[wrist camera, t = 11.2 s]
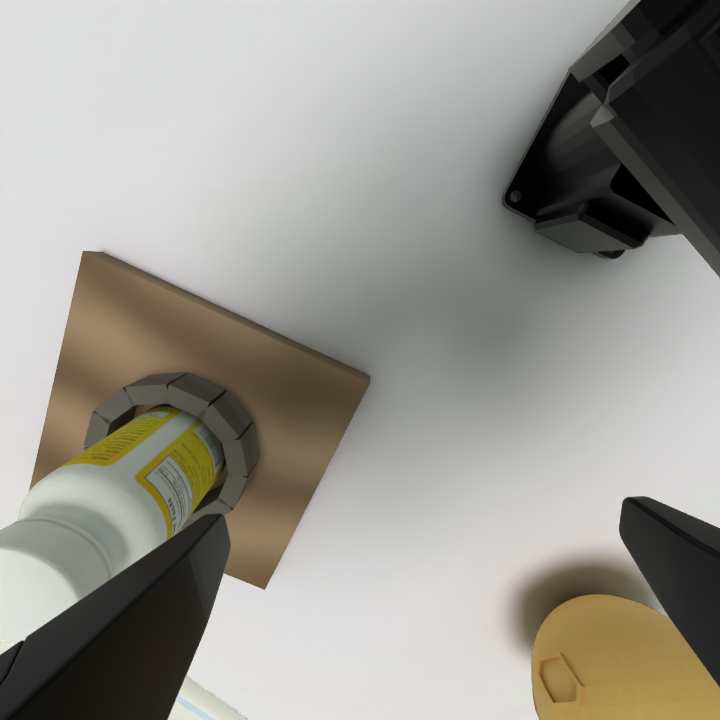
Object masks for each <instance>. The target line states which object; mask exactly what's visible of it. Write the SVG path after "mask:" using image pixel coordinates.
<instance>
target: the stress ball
mask: <svg viewBox="0 0 720 720" xmlns="http://www.w3.org/2000/svg"><path fill="white" fill-rule="evenodd" d="M531 677H532V689H533V699H534V705H535V710H536V713H537V715H538V717H539V720H720V688H719V686H718V685H717V684H716V682H715V681H714V679H713V678H712V677H711V675H710V674H709V672H708V671H707V670H706V668H705V667H704V665H703V664H702V663H701V661H700V660H699V659H698V657H697V656H696V654H695V653H694V652H693V650H692V649H691V647H690V646H689V645H688V643H687V642H686V640H685V639H684V638H683V636H682V635H681V634H680V632H679V631H678V629H677V628H676V626H675V625H674V624H673V622H672V621H671V619H670V618H668V617H666V616H664V615H663V614H661V613H659V612H657V611H656V610H654V609H652V608H650V607H647V606H645V605H643V604H641V603H638V602H636V601H632V600H629V599H626V598H622V597H618V596H612V595H602V594H592V595H584V596H579V597H575V598H573V599H570V600H568V601H566V602H564V603H562V604H561V605H559V606H557V607H556V608H555V609H554V610H553V611H552V612H551V613H549V615H548V616H547V618H546V619H545V620H544V622H543V623H542V625H541V627H540V629H539V631H538V633H537V636H536V639H535V642H534V646H533V651H532V660H531Z"/></svg>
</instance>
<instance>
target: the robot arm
mask: <svg viewBox="0 0 720 720" xmlns="http://www.w3.org/2000/svg"><path fill="white" fill-rule="evenodd" d="M568 70H569V72H568V73H567V75H566V77H565V79H564V81H563V83H562V85H561V86H560V88H559V90H558V92H557V94H556V96H555V98H554V100H553V101H552V103H551V105H550V107H549V109H548V111H547V113H546V114H545V116H544V118H543V120H542V122H541V124H540V126H539V127H538V129H537V131H536V133H535V135H534V137H533V139H532V141H531V142H530V144H529V146H528V148H527V150H526V152H525V154H524V155H523V157H522V159H521V161H520V163H519V165H518V167H517V169H516V170H515V172H514V174H513V176H512V178H511V180H510V182H509V183H508V185H507V187H506V189H505V191H504V193H503V196H502V203H503V205H504V206H505V207H506V208H507V209H509V210H511V211H513V212H515V213H517V214H519V215H521V216H523V217H525V218H527V219H529V220H531V221H533V222H534V225H533V226H534V229H535V231H536V232H538V233H540V234H542V235H544V236H546V237H548V238H550V239H552V240H554V241H556V242H558V243H560V244H562V245H563V246H565V247H567V248H569V249H571V250H573V251H575V252H577V253H582V252H592V253H594V254H596V255H598V256H600V257H602V258H605V259H615V258H618V257H620V256H621V255H622V254H623V253H624V251H625V250H629V249H635V248H638V247H641V246H643V245H644V243H645V242H646V240H647V239H648V237H658V236H667V235H677V234H683V235H684V236H685V237H686V238H687V239H688V241H689V242H690V243H691V244H692V245H693V246H694V248H695V249H696V250H697V251H698V252H699V254H700V255H701V256H702V257H703V258H704V259H705V261H706V262H707V263H708V264H709V265H710V266H711V268H712V269H713V270H714V271H715V272H716V274H717V275H718V276H719V277H720V0H630V1H629V3H628V4H627V5H626V6H625V7H624V8H623V9H622V10H621V11H620V13H619V14H618V15H617V16H616V17H615V18H614V19H613V20H612V21H611V23H610V24H609V25H608V26H607V27H606V28H605V29H604V30H603V31H602V33H601V34H600V35H599V36H598V37H597V38H596V39H595V40H594V41H593V43H592V44H591V45H590V46H589V47H588V48H587V49H586V50H585V51H584V52H583V54H582V55H581V56H580V57H579V58H578V59H577V60H576V61H575V62H574V64H573V65H572V66H571V67H570V68H569V69H568ZM512 192H514V193H516V194H517V196H518V199H517V201H516V202H512V201H511V200H510V195H511V193H512ZM610 251H613V252H612V253H611V252H610ZM619 532H620V536H621V539H622V541H623V543H624V544H625V546H626V548H627V549H628V551H629V553H630V554H631V556H632V558H633V559H634V561H635V562H636V564H637V566H638V567H639V569H640V571H641V572H642V574H643V576H644V577H645V579H646V581H647V582H648V584H649V586H650V587H651V589H652V591H653V592H654V594H655V596H656V597H657V599H658V601H659V602H660V604H661V605H662V607H663V608H664V610H665V612H666V613H667V615H668V616H669V618H670V619H671V621H672V622H673V624H674V625H675V626H676V628H677V629H678V631H679V632H680V634H681V635H682V636H683V638H684V639H685V640H686V642H687V643H688V645H689V646H690V647H691V649H692V650H693V652H694V653H695V654H696V656H697V657H698V659H699V660H700V661H701V663H702V664H703V665H704V667H705V668H706V670H707V671H708V672H709V674H710V675H711V677H712V678H713V679H714V681H715V682H716V684H717V685H718V686H719V688H720V528H718V527H716V526H713V525H711V524H709V523H707V522H704V521H702V520H700V519H697V518H695V517H693V516H691V515H688V514H686V513H684V512H681V511H679V510H677V509H674V508H672V507H670V506H668V505H665V504H663V503H661V502H658V501H656V500H654V499H651V498H649V497H645V496H639V497H627V498H625V499H624V500H623V503H622V509H621V517H620V524H619ZM230 549H231V541H230V536H229V532H228V527H227V523H226V519H225V516H224V515H223V514H221V513H218V514H205V515H203V516H202V517H200V518H199V519H198V520H196V521H195V522H193V523H192V524H190V525H189V526H187V527H186V528H184V529H183V530H181V531H180V532H179V533H177V534H176V535H174V536H173V537H171V538H170V539H168V540H167V541H165V542H164V543H163V544H161V545H160V546H158V547H157V548H155V549H154V550H152V551H151V552H149V553H148V554H146V555H145V556H144V557H142V558H141V559H139V560H138V561H136V562H135V563H133V564H132V565H130V566H129V567H127V568H126V569H125V570H123V571H122V572H120V573H119V574H117V575H116V576H114V577H113V578H111V579H110V580H109V581H107V582H106V583H104V584H103V585H101V586H100V587H98V588H97V589H95V590H94V591H92V592H91V593H90V594H88V595H87V596H85V597H84V598H82V599H81V600H79V601H78V602H76V603H75V604H73V605H72V606H71V607H69V608H68V609H66V610H65V611H63V612H62V613H60V614H59V615H57V616H56V617H55V618H53V619H52V620H50V621H49V622H47V623H46V624H44V625H43V626H41V627H40V628H38V629H37V630H36V631H34V632H33V633H31V634H30V635H28V636H27V637H26V639H25V641H23V640H22V641H19V642H18V643H16V644H15V645H14V646H12V647H11V648H9V649H8V650H6V651H5V652H3V653H2V654H1V655H0V720H168V717H169V715H170V713H171V710H172V708H173V705H174V703H175V701H176V698H177V696H178V693H179V691H180V689H181V686H182V684H183V681H184V679H185V677H186V674H187V672H188V669H189V667H190V665H191V662H192V660H193V657H194V655H195V653H196V650H197V648H198V646H199V643H200V641H201V638H202V636H203V633H204V631H205V628H206V626H207V623H208V620H209V617H210V614H211V611H212V608H213V605H214V602H215V598H216V595H217V592H218V589H219V586H220V583H221V579H222V576H223V573H224V570H225V567H226V564H227V560H228V557H229V554H230Z"/></svg>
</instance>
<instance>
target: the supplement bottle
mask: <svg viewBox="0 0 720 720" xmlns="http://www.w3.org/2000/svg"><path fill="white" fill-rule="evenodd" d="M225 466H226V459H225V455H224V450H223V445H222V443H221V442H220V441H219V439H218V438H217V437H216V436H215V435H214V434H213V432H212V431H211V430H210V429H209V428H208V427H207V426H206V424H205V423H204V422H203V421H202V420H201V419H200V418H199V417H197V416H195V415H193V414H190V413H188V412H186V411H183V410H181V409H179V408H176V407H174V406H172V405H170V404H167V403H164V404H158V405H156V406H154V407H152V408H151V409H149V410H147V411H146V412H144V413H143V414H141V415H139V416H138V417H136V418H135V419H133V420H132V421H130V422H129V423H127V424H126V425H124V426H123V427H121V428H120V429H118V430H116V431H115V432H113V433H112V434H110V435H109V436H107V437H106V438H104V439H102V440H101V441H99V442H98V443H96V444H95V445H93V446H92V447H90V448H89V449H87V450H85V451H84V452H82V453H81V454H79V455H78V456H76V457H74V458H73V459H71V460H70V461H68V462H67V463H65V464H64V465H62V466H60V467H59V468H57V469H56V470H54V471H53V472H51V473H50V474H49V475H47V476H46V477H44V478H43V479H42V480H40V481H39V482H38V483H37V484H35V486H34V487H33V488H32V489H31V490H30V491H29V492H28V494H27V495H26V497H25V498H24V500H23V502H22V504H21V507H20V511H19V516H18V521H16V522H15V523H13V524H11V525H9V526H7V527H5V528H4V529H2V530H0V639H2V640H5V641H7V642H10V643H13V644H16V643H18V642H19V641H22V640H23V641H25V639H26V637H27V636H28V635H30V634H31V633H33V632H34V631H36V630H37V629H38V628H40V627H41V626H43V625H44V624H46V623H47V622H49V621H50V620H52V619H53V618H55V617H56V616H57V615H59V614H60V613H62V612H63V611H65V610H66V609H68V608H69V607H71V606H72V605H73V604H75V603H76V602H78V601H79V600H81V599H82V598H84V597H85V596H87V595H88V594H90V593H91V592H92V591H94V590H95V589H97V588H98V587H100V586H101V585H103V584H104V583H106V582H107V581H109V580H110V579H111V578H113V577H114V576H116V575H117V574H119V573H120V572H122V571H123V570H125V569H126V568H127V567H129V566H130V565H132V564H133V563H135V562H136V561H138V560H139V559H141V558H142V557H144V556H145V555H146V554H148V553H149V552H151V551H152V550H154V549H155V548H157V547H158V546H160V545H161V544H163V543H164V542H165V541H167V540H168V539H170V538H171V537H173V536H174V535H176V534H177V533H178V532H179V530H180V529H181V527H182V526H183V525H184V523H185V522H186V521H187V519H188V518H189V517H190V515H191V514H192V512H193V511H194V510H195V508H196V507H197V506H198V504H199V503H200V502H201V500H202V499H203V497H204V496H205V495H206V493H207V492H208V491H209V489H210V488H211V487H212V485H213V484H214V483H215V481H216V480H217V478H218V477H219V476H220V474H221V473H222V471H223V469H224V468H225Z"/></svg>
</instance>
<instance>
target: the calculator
mask: <svg viewBox="0 0 720 720" xmlns="http://www.w3.org/2000/svg"><path fill="white" fill-rule="evenodd" d="M14 645H15V644H13V643H10V642H7V641H5V640H2V639H0V655H1V654H2V653H3V652H5V651H6V650H8V649H9V648H11V647H12V646H14ZM168 720H248V719H247V718H246V717H245V716H243V715H242V714H241V713H239V712H238V711H237V710H235V709H234V708H232V707H231V706H230V705H228V704H227V703H225V702H224V701H222V700H221V699H219V698H218V697H217V696H215V695H214V694H212V693H211V692H209V691H208V690H206V689H205V688H204V687H202V686H201V685H199V684H198V683H196V682H195V681H193V680H192V679H191V678H189V677H188V676H186V677H185V679H184V681H183V684H182V686H181V689H180V691H179V693H178V696H177V698H176V701H175V703H174V705H173V708H172V710H171V713H170V715H169V717H168Z"/></svg>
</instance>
